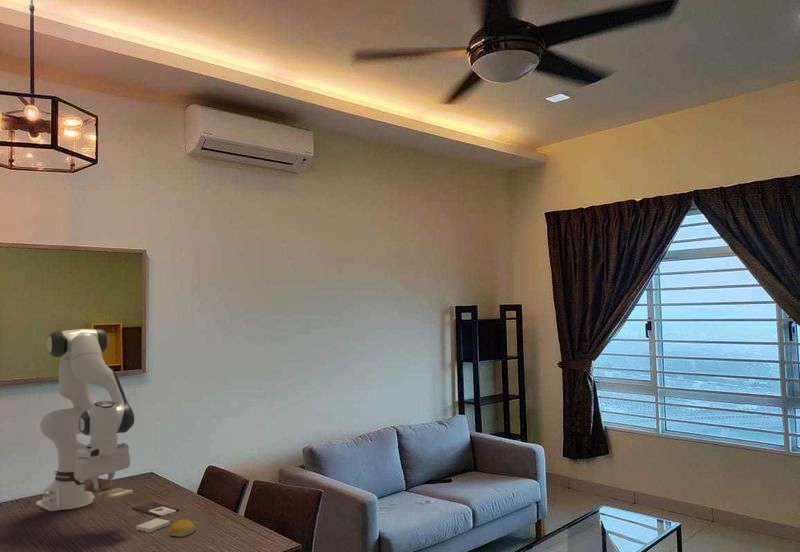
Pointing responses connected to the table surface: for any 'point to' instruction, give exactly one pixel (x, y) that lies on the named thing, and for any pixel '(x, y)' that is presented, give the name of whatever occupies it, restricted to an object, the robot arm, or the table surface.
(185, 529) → the bread roll
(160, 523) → the tile
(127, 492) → the brown flat knobbed piece
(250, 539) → the table surface
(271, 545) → the table surface
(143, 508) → the chocolate bar
